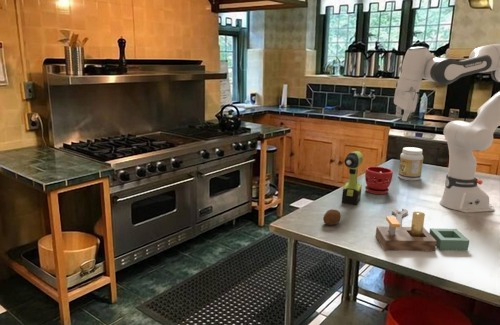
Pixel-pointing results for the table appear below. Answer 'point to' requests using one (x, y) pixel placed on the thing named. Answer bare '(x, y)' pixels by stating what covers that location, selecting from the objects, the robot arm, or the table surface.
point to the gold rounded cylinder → (417, 224)
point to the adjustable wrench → (399, 214)
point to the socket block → (405, 240)
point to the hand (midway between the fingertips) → (400, 118)
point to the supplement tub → (411, 163)
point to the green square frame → (449, 239)
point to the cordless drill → (352, 179)
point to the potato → (332, 217)
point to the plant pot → (378, 179)
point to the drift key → (392, 225)
